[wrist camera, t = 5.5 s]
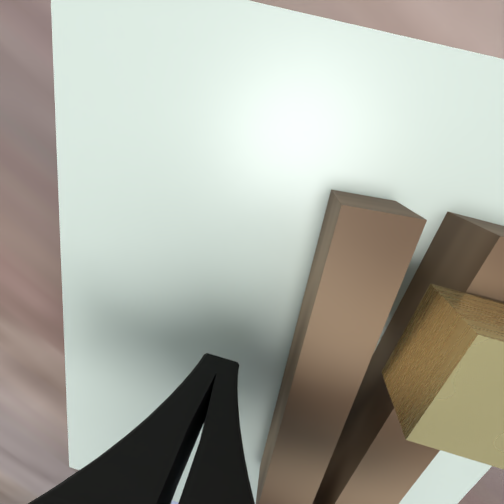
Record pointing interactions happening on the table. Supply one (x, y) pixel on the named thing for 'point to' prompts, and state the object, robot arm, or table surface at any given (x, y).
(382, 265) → the tong jaw
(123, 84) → the serving board
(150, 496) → the robot arm
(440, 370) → the pale yellow rectangular block
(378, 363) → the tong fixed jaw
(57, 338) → the table surface
